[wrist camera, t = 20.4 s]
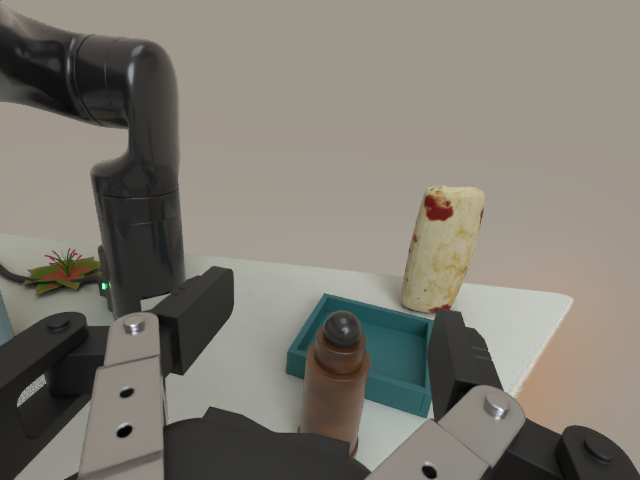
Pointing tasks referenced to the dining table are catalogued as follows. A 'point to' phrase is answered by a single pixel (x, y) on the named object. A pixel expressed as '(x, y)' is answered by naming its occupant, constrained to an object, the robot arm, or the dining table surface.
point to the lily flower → (63, 272)
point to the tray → (379, 352)
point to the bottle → (4, 324)
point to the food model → (441, 246)
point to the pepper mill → (336, 380)
